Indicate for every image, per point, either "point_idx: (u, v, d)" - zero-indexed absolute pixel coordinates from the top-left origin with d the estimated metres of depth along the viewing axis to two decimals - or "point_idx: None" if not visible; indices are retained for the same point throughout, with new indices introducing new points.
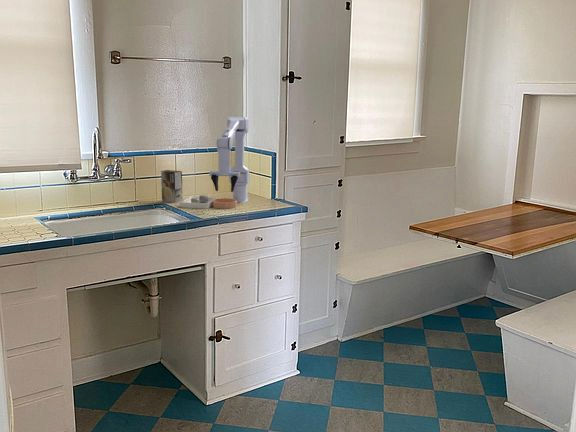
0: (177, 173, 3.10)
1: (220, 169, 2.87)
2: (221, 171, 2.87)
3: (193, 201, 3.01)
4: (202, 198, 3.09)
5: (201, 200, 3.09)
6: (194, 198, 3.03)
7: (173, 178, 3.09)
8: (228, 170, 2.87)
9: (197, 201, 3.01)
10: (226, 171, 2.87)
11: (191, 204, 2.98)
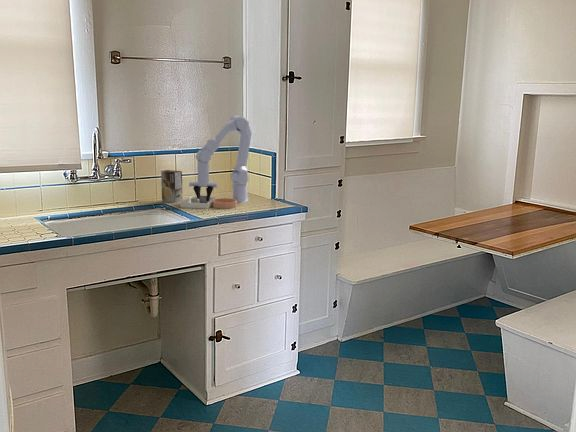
0: (177, 173, 3.10)
1: (199, 180, 3.07)
2: (200, 182, 3.07)
3: (193, 201, 3.01)
4: (202, 198, 3.09)
5: (201, 200, 3.09)
6: (194, 198, 3.03)
7: (173, 178, 3.09)
8: (206, 181, 3.07)
9: (197, 201, 3.01)
10: (205, 182, 3.07)
11: (191, 204, 2.98)
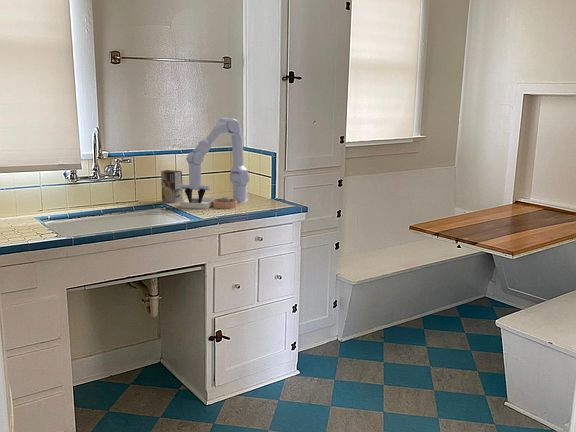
0: (177, 173, 3.10)
1: (190, 183, 2.98)
2: (191, 185, 2.98)
3: (193, 201, 3.01)
4: (225, 200, 3.04)
5: (224, 202, 3.04)
6: (194, 198, 3.03)
7: (173, 178, 3.09)
8: (198, 184, 2.99)
9: (197, 201, 3.01)
10: (196, 185, 2.98)
11: (191, 204, 2.98)
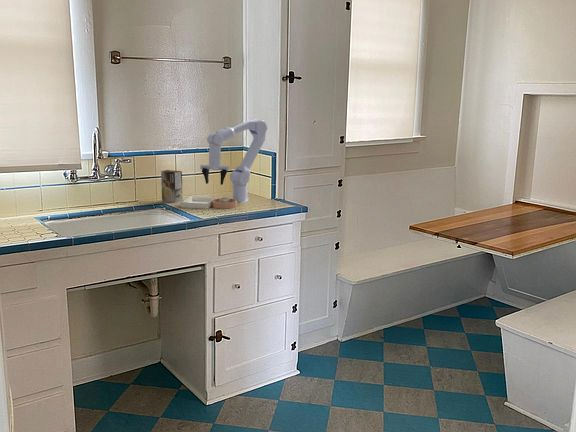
0: (177, 173, 3.10)
1: (210, 163, 3.05)
2: (211, 165, 3.05)
3: None
4: None
5: None
6: (222, 199, 3.02)
7: (173, 178, 3.09)
8: (218, 164, 3.06)
9: (225, 202, 3.00)
10: (216, 165, 3.05)
11: (191, 204, 2.98)
